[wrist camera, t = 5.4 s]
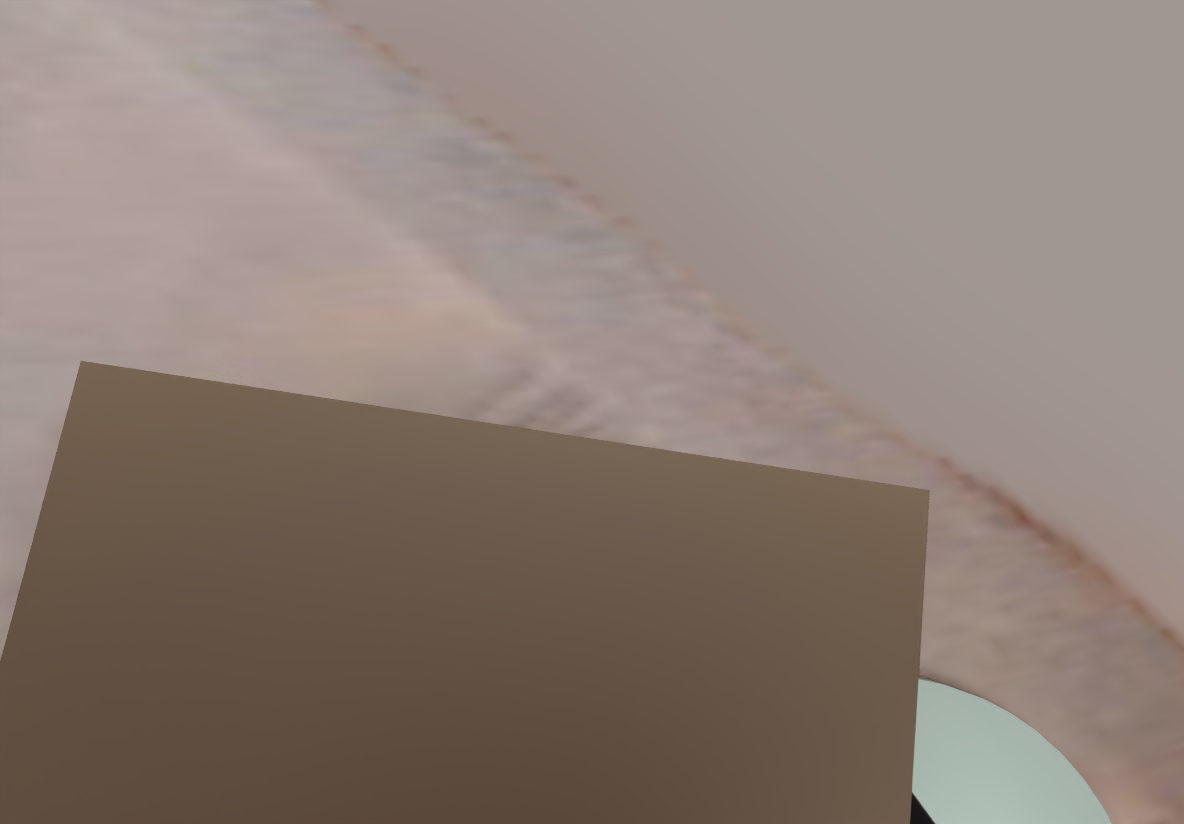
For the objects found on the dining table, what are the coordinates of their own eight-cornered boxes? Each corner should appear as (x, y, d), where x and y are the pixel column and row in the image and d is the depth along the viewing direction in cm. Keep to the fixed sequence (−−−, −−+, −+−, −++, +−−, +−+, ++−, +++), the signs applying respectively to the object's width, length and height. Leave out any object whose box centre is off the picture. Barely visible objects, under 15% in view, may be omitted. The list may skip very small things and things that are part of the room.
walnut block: (606, 784, 15) (869, 1496, 4) (343, 752, 14) (-208, 1443, 3) (639, 524, 15) (929, 490, 5) (393, 488, 15) (80, 362, 4)
